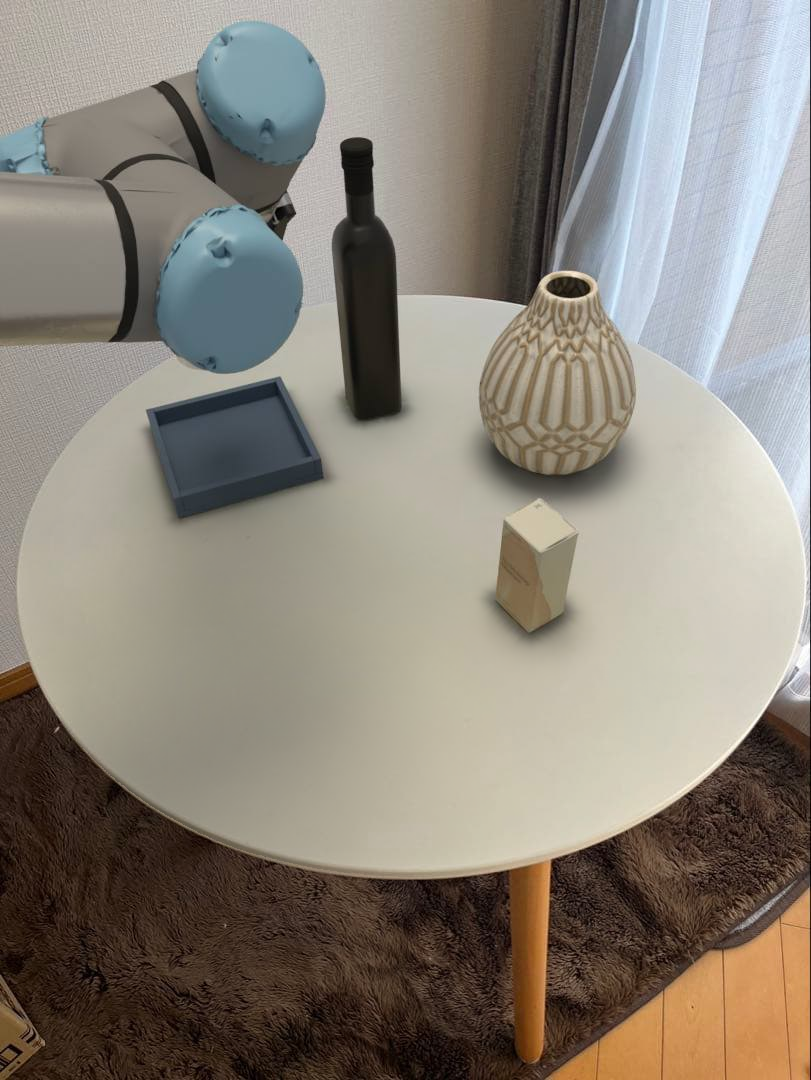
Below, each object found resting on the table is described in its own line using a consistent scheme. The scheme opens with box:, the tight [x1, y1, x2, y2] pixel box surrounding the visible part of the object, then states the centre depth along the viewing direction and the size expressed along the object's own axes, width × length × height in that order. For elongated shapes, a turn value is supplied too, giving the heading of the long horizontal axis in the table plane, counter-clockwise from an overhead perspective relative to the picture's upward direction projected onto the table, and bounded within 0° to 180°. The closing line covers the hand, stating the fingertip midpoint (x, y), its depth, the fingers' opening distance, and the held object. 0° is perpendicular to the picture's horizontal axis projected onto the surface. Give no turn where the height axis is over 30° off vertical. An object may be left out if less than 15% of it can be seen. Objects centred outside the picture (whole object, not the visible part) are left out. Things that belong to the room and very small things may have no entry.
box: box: [494, 497, 579, 633], centre depth 79 cm, size 5×4×11 cm
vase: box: [478, 270, 637, 476], centre depth 90 cm, size 16×16×20 cm
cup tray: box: [145, 375, 325, 519], centre depth 98 cm, size 16×16×3 cm
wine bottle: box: [331, 136, 403, 421], centre depth 93 cm, size 6×6×30 cm
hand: (189, 288), depth 87 cm, fingers closed on cup, 7 cm apart
